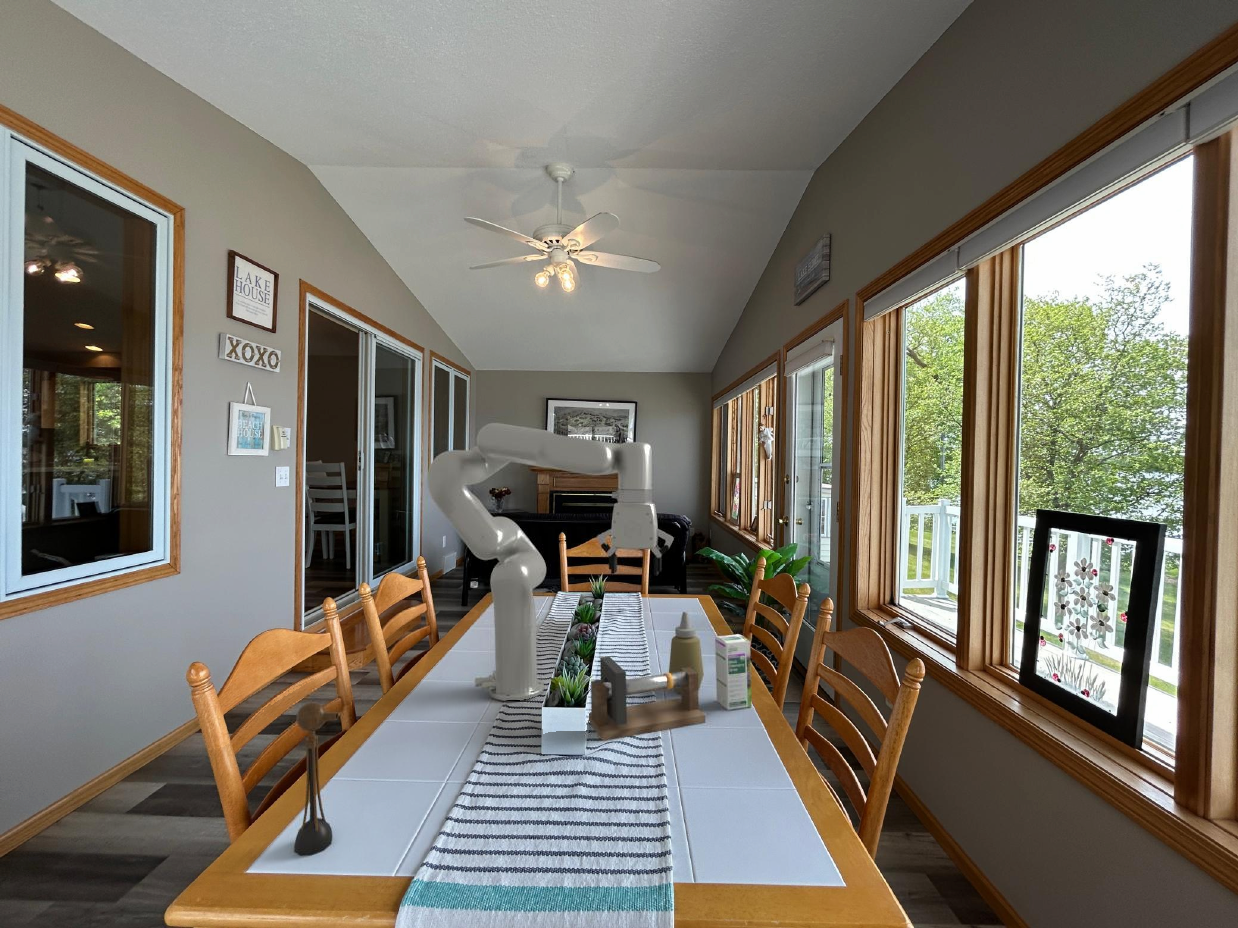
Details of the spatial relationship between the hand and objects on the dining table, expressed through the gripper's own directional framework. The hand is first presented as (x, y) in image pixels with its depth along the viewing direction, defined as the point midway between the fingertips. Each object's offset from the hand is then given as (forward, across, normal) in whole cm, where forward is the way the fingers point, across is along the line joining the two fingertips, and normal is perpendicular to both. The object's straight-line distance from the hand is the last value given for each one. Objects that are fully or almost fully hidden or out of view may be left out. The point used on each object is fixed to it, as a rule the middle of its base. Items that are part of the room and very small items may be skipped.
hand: (634, 573), depth 134 cm
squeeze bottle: (+28, +11, +7) cm, 31 cm away
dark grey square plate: (+26, -2, -15) cm, 30 cm away
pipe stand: (+28, +4, -11) cm, 30 cm away
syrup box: (+28, +22, +1) cm, 35 cm away
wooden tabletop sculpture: (+29, -35, -58) cm, 74 cm away
